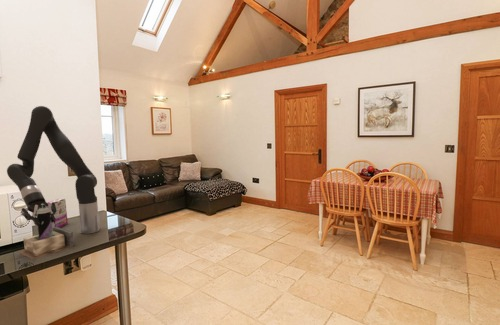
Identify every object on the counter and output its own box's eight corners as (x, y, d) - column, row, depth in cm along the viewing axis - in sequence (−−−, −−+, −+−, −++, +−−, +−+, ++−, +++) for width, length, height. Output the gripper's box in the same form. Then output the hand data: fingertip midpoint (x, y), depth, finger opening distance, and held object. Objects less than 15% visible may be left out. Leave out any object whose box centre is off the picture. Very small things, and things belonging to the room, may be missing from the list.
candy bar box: (60, 223, 173) (58, 198, 171) (68, 223, 173) (65, 198, 171) (47, 230, 162) (44, 203, 160) (55, 229, 162) (52, 202, 160)
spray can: (42, 248, 129) (38, 206, 127) (37, 245, 131) (33, 205, 129) (55, 244, 133) (51, 204, 131) (50, 241, 136) (46, 202, 134)
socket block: (36, 256, 124) (34, 243, 123) (24, 250, 130) (23, 238, 129) (65, 246, 134) (63, 234, 133) (53, 242, 140) (52, 230, 139)
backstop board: (33, 261, 121) (31, 244, 120) (17, 253, 129) (15, 237, 129) (74, 247, 135) (72, 232, 134) (57, 241, 144) (55, 226, 143)
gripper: (16, 194, 127) (30, 223, 123) (51, 188, 140) (65, 214, 135) (12, 204, 131) (26, 232, 126) (47, 197, 143) (60, 223, 138)
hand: (46, 223), depth 130 cm, fingers closed on spray can, 5 cm apart
